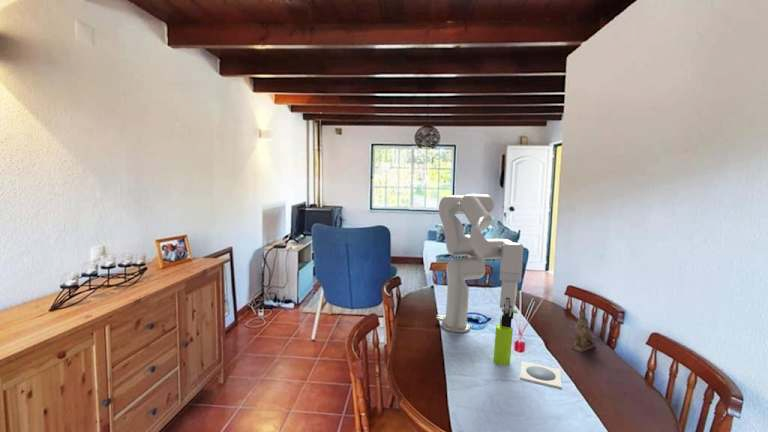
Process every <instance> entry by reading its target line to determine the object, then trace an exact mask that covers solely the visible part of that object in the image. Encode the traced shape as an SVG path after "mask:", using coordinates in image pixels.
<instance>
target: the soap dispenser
mask: <svg viewBox="0 0 768 432" xmlns="http://www.w3.org/2000/svg"><path fill="white" fill-rule="evenodd" d="M509 311H510V310H509ZM501 312H502V313H503V308H501ZM511 312H512V313H513V314H518V311H517V310H516V309H514V310H511ZM513 331H514V329H513V327H512V326H511V327H504V326H502V316H500V317H499V324H497V325H496V326H495V337H494V350H493V362H494V363H495V364H496V365H497V364H498V365H501V366H508V365H510V363H511V357H512V356H511V353H512V345H513V344H512V343H513V342H512V341H513Z"/></svg>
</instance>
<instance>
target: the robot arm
mask: <svg viewBox="0 0 768 432" xmlns="http://www.w3.org/2000/svg"><path fill="white" fill-rule="evenodd" d="M494 206H495V203H494V199H493V198H492V197H491V196H490V195H489V194H483V193H482V194H480V193H468V194H465V195H460V194H459V195H458V194H457V195H456V194H455V195H452V194H451V195H447V196H446V195H445V196H444V197H442V198H441V199H440V201H439V205H438V213H439V217H440V220H441V223H442V227H443V230H444V231H443V233H444V238H445V245H446V246H445V247H446V251H447V253H448V255H450V256H459V257H458V258H453V259H451V260H450V259H449V261H448V262H447V263H446V275H447V277H446V278H447V289H446V290H447V291H446V305H445V306H446V307H445V314H444V315H441V314H436V317H435V319H437V321H440V322H441V328H443V329H444V330H446V331H448V332H451V333H467V332H469V331H470V330H471V326H470V324H468V323H467V322H468V309H469V296H470V295H469V294H470V289H469V286H468V285H467V283H466V281H467V280H479V279H482V278H483V277H484V276H485V273H486V263H485V260H495V259H496V260H500V266H499V280H500V282H501V287H500V289H501V290H500V298H499V308H500V309H503V312H502V315H501V317H502V326H504V327H512V320H513V319H514V313H512V312H511V310H515V305H516V300H517V294H518V284H519V283H521V282H522V274H523V259H524V246H523V244H522V243H519V242H514V241H512V240H510V239H508V238H507V239H506V238H485V236H484V235H483V233H482V231H485V230H486V229H487V228H489V227H490V226H491V224H492V222H493V217H492V216H491V215H490V214H491V213H492V211H493V210H494ZM457 215H465V217H466V219H467V220H468V221H469V222H468V223H469V224H470V225H471V229H470V232H469V234H465V233H464V229H463V224H462V222H461V220H460V219H459V218H458V217H457ZM460 256H467V257H462V258H460ZM509 310H510V311H509Z"/></svg>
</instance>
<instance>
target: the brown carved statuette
mask: <svg viewBox="0 0 768 432" xmlns="http://www.w3.org/2000/svg"><path fill="white" fill-rule="evenodd" d="M578 314H579V317H578V320H577V323H576V324H575V325H574V329H573V330H574V337H575V342H574V343H573V344H571V346H570V349H572V350H575V351H578V352H580V353H582V352H585V351H587V350H590V349H593V348H594V347H596V342H595V341H594V339H593V336H592V334H591V331H590V327H589V320H588V319H587V317H586V314H587V313H586V312H585V311H584V310H579V312H578Z"/></svg>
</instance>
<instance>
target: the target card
mask: <svg viewBox="0 0 768 432" xmlns="http://www.w3.org/2000/svg"><path fill="white" fill-rule="evenodd" d="M520 366H521V367H520V375H519V380H522V381H525V382H526V381H527V382H531V383H535V384H540V385H542V386H543V385H544V386H549V387H551V388H552V387H553V388H557V389H561V390H562V389H563V386H562V385H563V384H562V373H561V368H556V367H551V366H546V365H542V364H536V363H534V362H528V361H524V360H522V361H521V365H520Z"/></svg>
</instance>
